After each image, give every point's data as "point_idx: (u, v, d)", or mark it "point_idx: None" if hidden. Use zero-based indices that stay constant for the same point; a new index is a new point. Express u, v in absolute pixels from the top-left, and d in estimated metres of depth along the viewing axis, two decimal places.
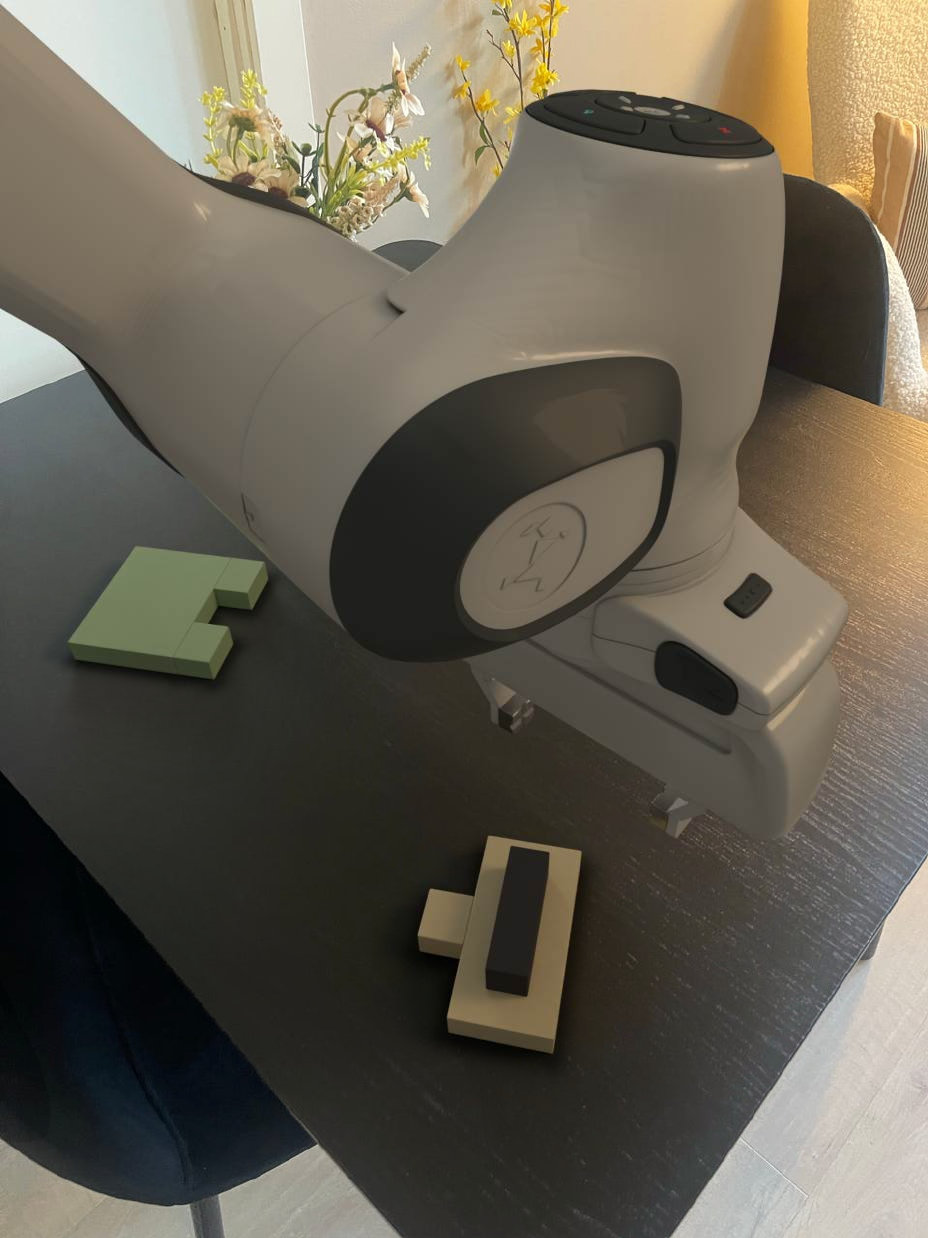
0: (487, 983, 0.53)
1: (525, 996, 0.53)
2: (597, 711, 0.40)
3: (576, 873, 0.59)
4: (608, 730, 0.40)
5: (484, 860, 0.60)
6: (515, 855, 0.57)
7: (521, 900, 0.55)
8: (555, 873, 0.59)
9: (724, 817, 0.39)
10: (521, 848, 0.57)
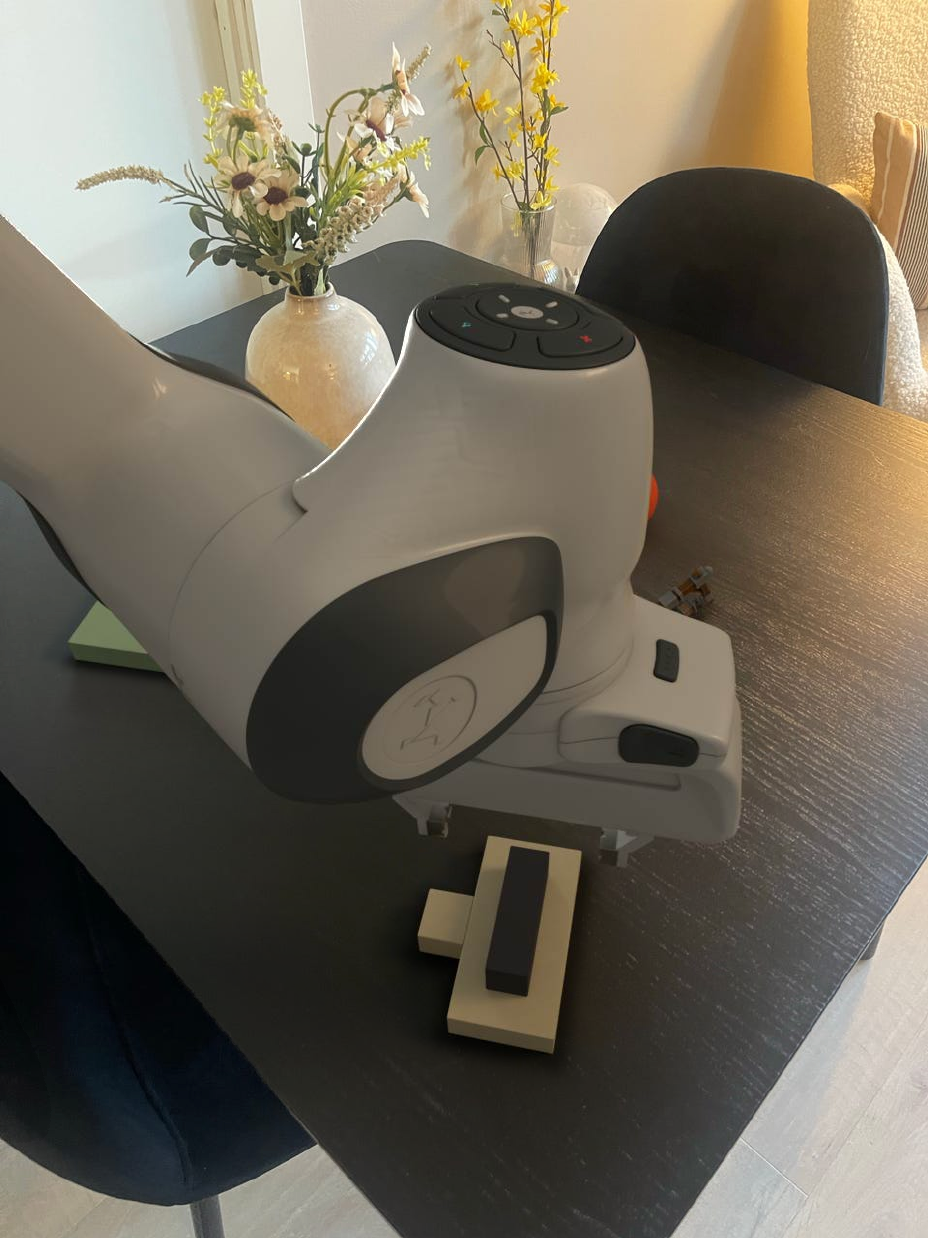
0: (487, 983, 0.53)
1: (525, 996, 0.53)
2: (544, 794, 0.44)
3: (576, 873, 0.59)
4: (557, 806, 0.44)
5: (484, 860, 0.60)
6: (515, 855, 0.57)
7: (521, 900, 0.55)
8: (555, 873, 0.59)
9: (680, 838, 0.44)
10: (521, 848, 0.57)
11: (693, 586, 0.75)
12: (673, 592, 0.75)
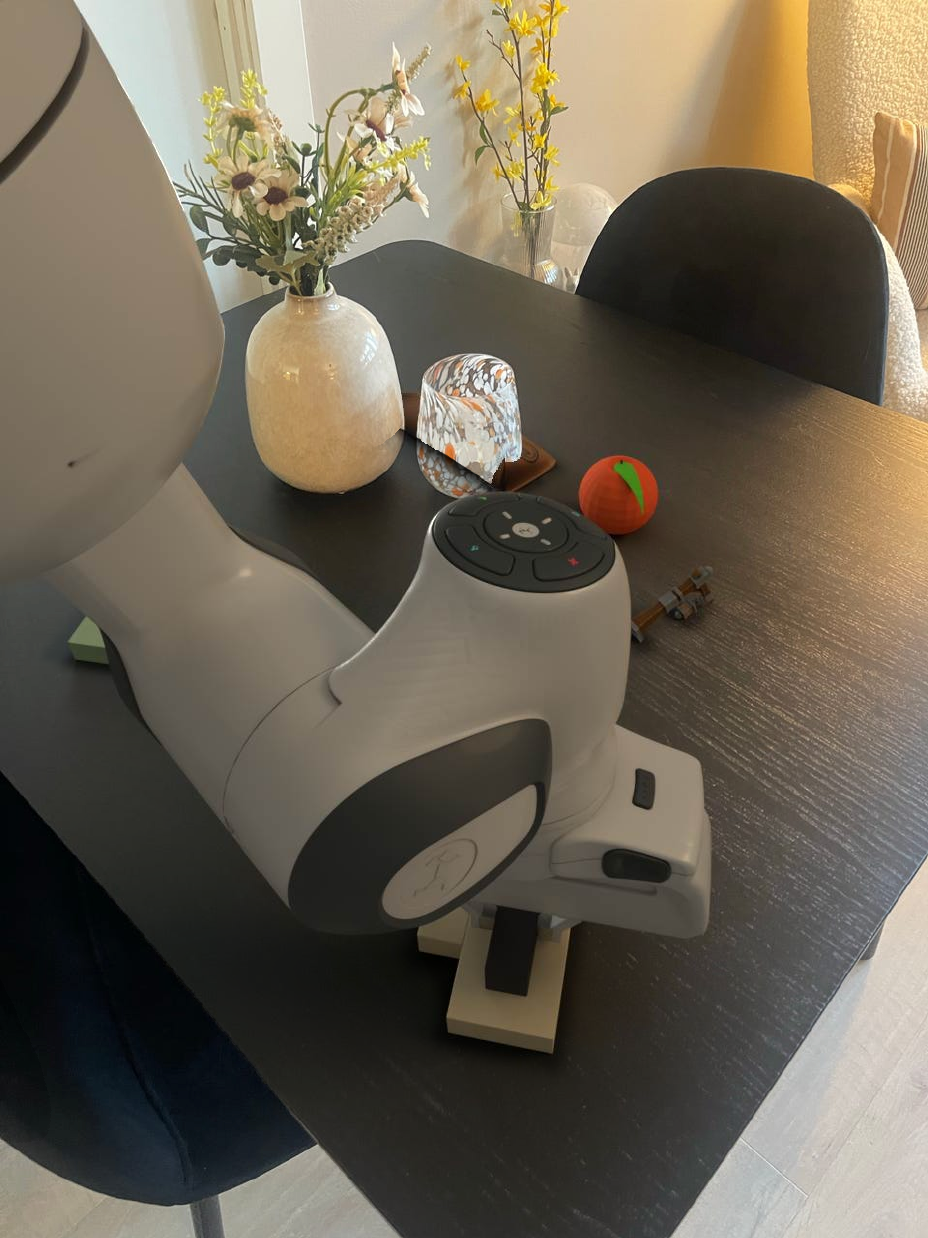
0: (486, 983, 0.53)
1: (524, 996, 0.53)
2: (537, 894, 0.50)
3: None
4: (549, 904, 0.50)
5: None
6: None
7: None
8: None
9: (657, 933, 0.50)
10: None
11: (693, 586, 0.75)
12: (673, 592, 0.75)
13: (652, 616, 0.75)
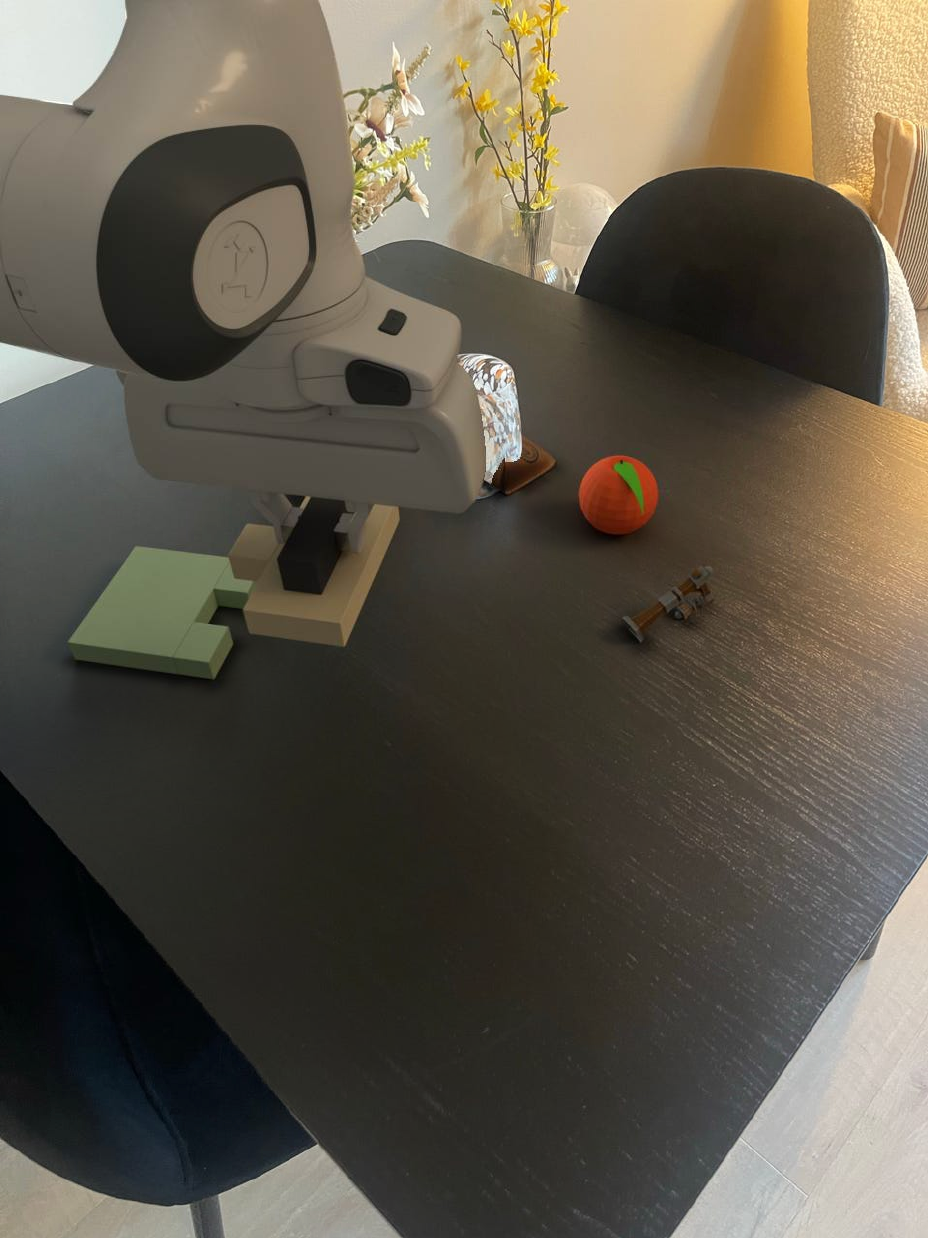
0: (283, 580, 0.56)
1: (319, 594, 0.56)
2: (316, 468, 0.52)
3: (388, 511, 0.61)
4: (329, 480, 0.52)
5: (303, 503, 0.62)
6: None
7: (322, 513, 0.57)
8: None
9: (431, 508, 0.52)
10: None
11: (693, 586, 0.75)
12: (673, 592, 0.75)
13: (652, 616, 0.75)
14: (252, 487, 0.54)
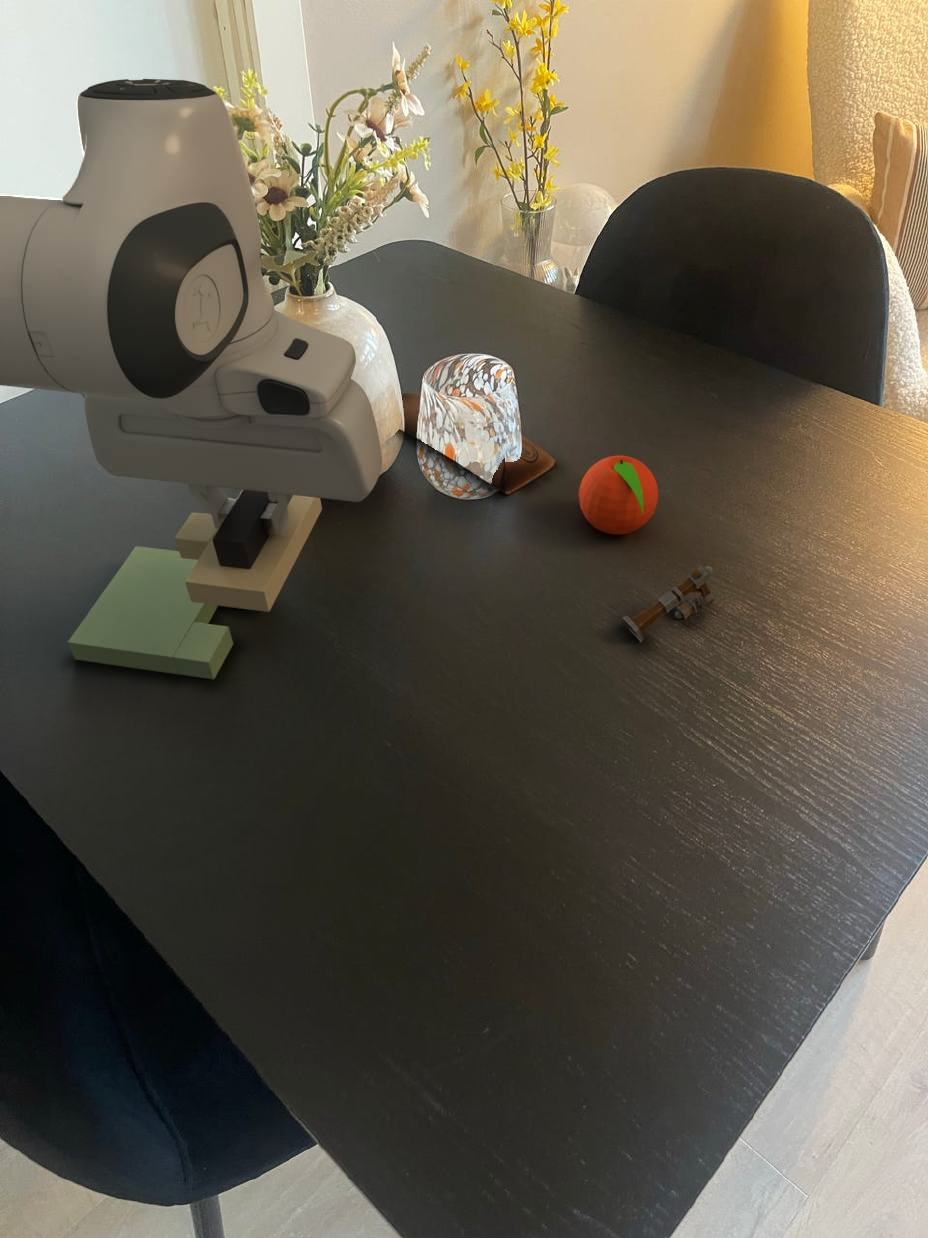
0: (218, 557, 0.68)
1: (248, 569, 0.68)
2: (242, 465, 0.64)
3: (310, 501, 0.73)
4: (253, 475, 0.65)
5: (239, 495, 0.74)
6: None
7: (251, 502, 0.69)
8: (294, 501, 0.73)
9: (336, 497, 0.64)
10: None
11: (693, 586, 0.75)
12: (673, 592, 0.75)
13: (652, 616, 0.75)
14: (191, 481, 0.66)
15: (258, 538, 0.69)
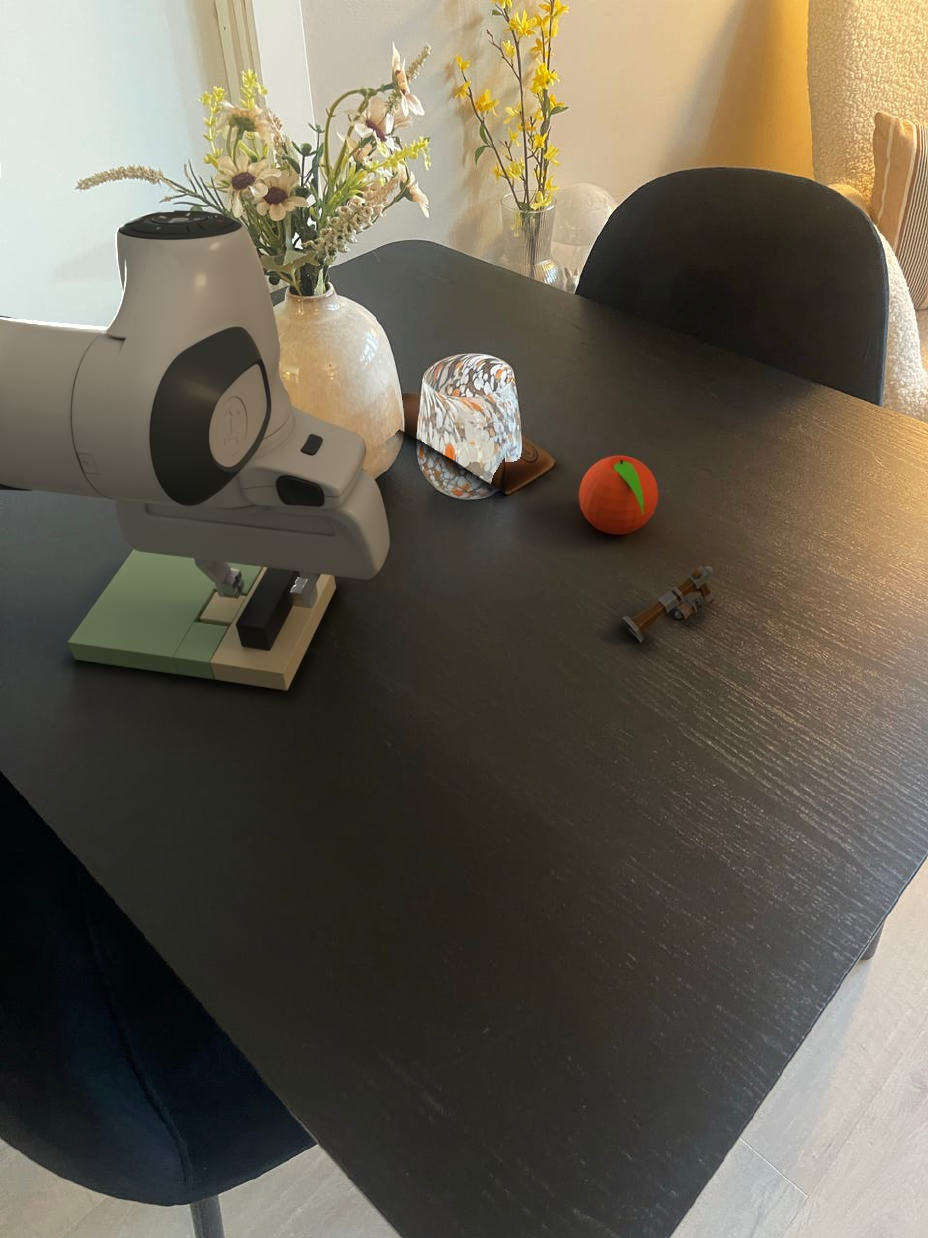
0: (240, 639, 0.73)
1: (268, 650, 0.74)
2: (260, 546, 0.69)
3: (325, 583, 0.79)
4: (270, 555, 0.69)
5: (259, 575, 0.80)
6: None
7: (271, 587, 0.75)
8: None
9: (347, 575, 0.69)
10: None
11: (693, 586, 0.75)
12: (673, 592, 0.75)
13: (652, 616, 0.75)
14: (212, 559, 0.71)
15: (277, 621, 0.74)
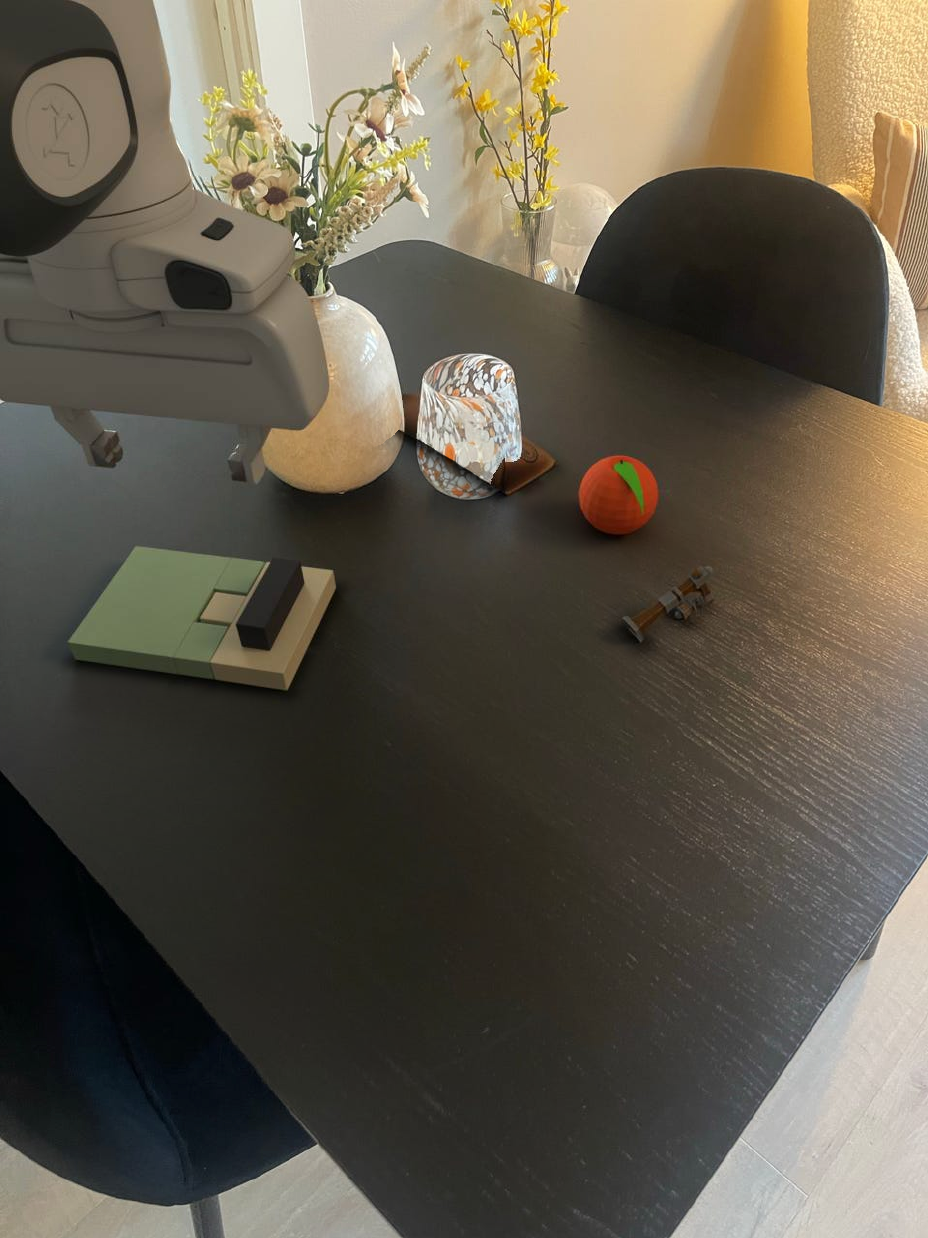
0: (240, 639, 0.73)
1: (268, 650, 0.74)
2: (156, 384, 0.52)
3: (325, 583, 0.79)
4: (170, 397, 0.53)
5: (259, 575, 0.80)
6: (274, 562, 0.77)
7: (271, 587, 0.75)
8: (310, 582, 0.79)
9: (271, 424, 0.53)
10: (280, 558, 0.78)
11: (693, 586, 0.75)
12: (673, 592, 0.75)
13: (652, 616, 0.75)
14: (97, 407, 0.54)
15: (277, 621, 0.74)
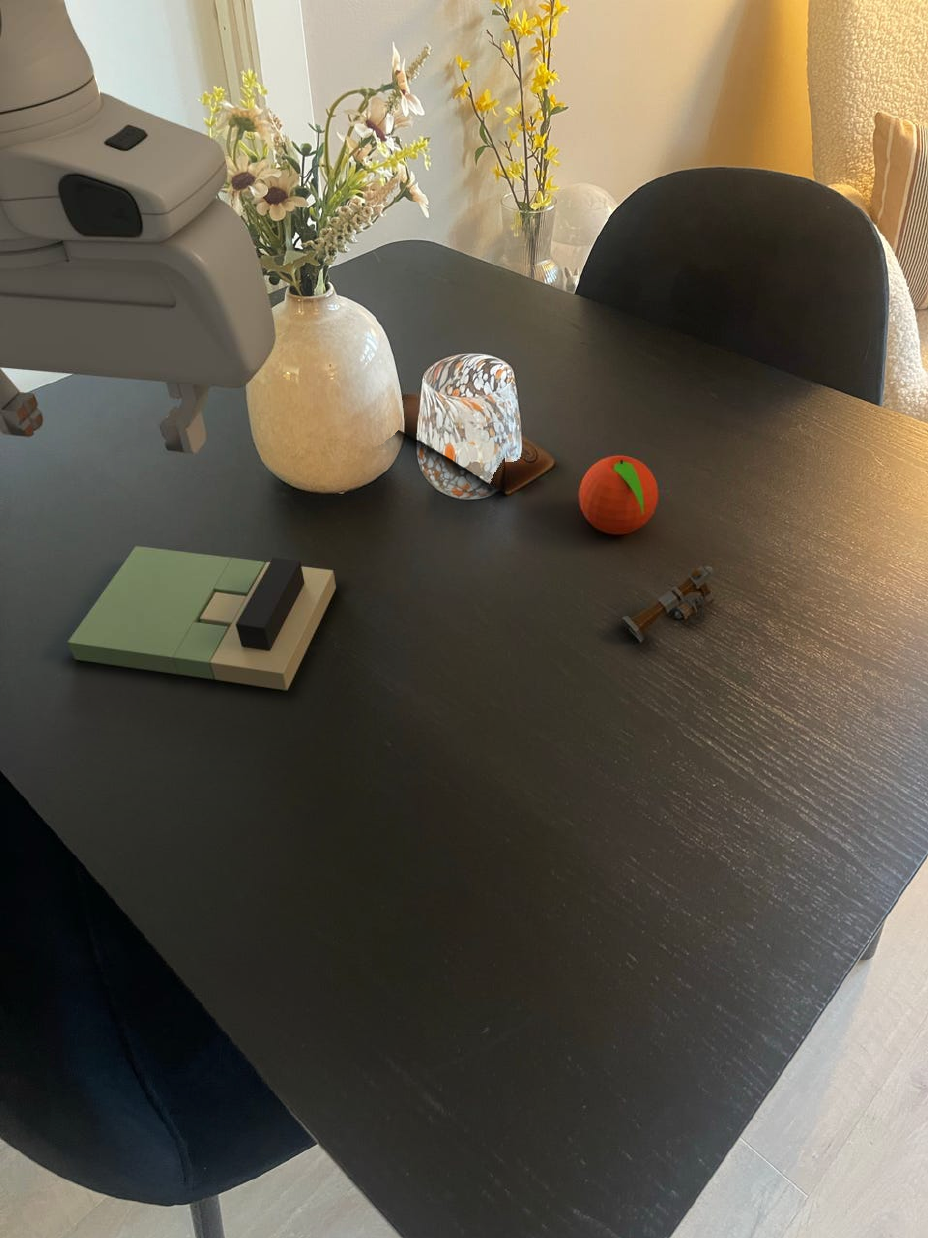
0: (240, 639, 0.73)
1: (268, 650, 0.74)
2: (66, 334, 0.44)
3: (325, 583, 0.79)
4: (84, 350, 0.44)
5: (259, 575, 0.80)
6: (274, 562, 0.77)
7: (271, 587, 0.75)
8: (310, 582, 0.79)
9: (205, 381, 0.44)
10: (280, 558, 0.78)
11: (693, 586, 0.75)
12: (673, 592, 0.75)
13: (652, 616, 0.75)
14: (1, 363, 0.46)
15: (277, 621, 0.74)
